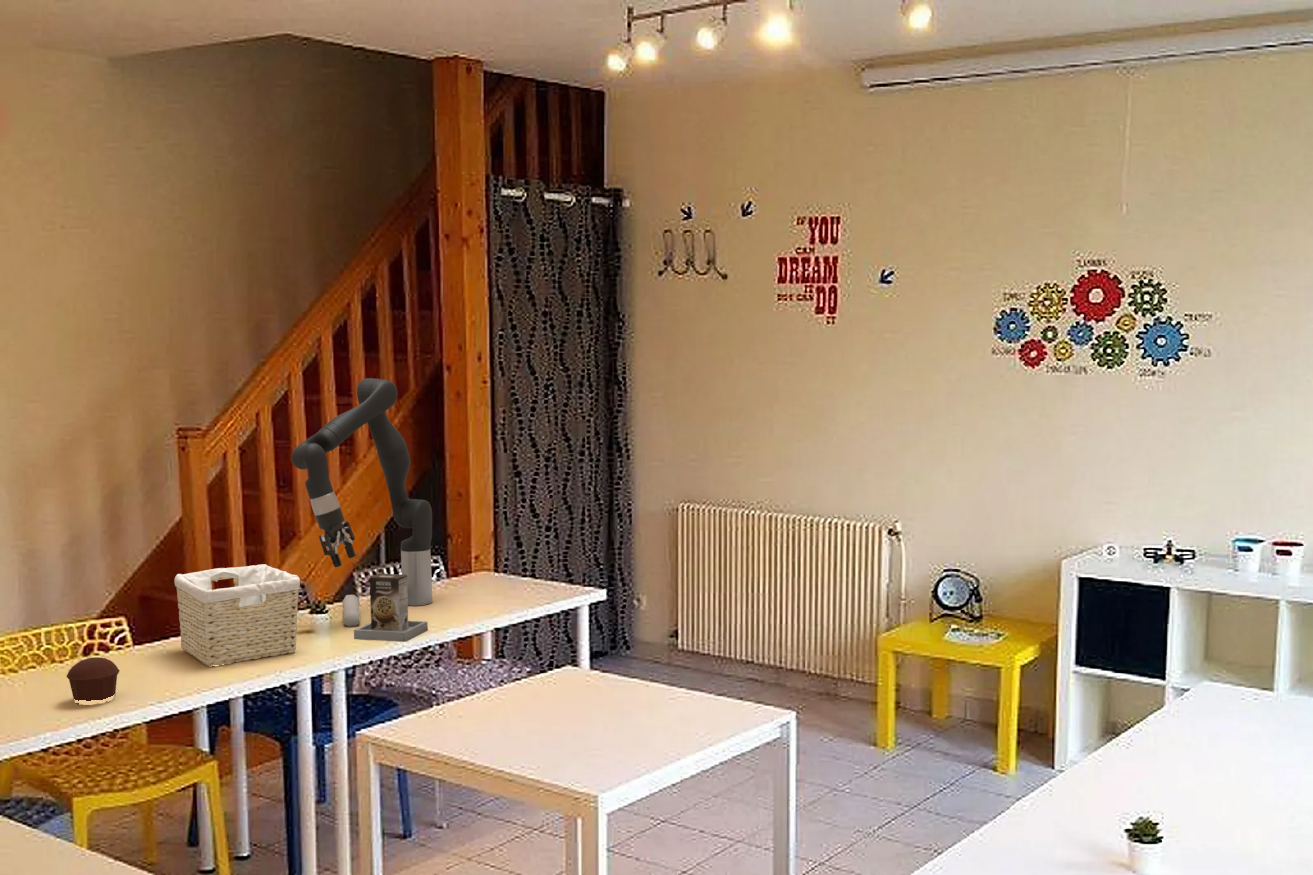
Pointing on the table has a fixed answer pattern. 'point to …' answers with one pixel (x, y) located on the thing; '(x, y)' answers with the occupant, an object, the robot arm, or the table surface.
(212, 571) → the basket
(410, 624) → the dish
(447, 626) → the table surface
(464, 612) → the table surface
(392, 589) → the coffee box
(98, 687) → the muffin
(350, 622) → the tube
